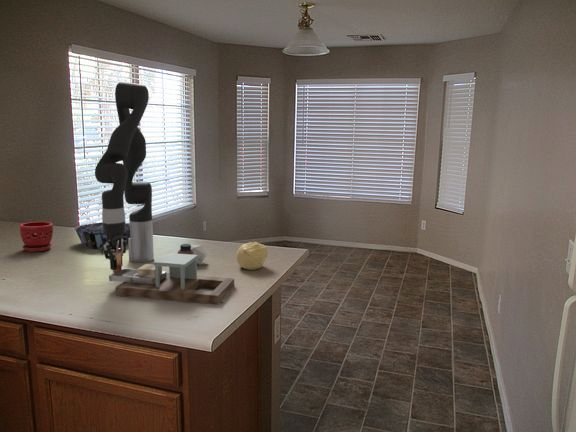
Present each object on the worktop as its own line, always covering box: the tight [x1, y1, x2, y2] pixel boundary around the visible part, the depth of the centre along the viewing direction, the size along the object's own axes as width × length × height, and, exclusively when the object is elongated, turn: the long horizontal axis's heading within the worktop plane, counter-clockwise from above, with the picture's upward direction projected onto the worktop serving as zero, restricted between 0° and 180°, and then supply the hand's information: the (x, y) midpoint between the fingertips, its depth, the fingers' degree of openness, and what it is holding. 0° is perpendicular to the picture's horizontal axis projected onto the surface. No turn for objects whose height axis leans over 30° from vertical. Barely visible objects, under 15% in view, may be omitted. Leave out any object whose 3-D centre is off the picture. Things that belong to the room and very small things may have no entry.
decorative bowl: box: [74, 222, 130, 250], centre depth 228 cm, size 26×28×10 cm
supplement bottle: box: [177, 243, 193, 255], centre depth 185 cm, size 6×6×11 cm
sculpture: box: [236, 241, 269, 271], centre depth 194 cm, size 11×12×11 cm
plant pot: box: [19, 221, 54, 253], centre depth 215 cm, size 13×13×12 cm
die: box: [190, 244, 207, 266], centre depth 198 cm, size 8×9×10 cm
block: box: [137, 263, 163, 278], centre depth 167 cm, size 6×6×5 cm
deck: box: [115, 272, 235, 305], centre depth 166 cm, size 36×18×3 cm, turn 80°
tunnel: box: [153, 252, 198, 289], centre depth 165 cm, size 11×12×9 cm
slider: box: [108, 251, 167, 285], centre depth 167 cm, size 18×9×9 cm, turn 80°
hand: (116, 267), depth 169 cm, fingers closed on slider, 3 cm apart
